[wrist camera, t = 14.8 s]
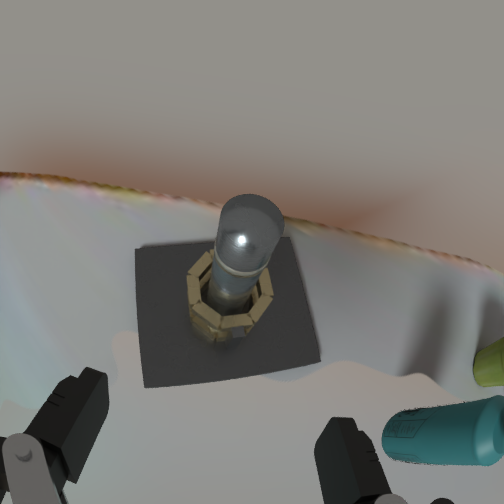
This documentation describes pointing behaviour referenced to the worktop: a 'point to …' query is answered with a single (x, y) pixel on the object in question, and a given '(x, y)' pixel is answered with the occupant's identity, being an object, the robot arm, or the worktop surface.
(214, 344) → the dark square plate
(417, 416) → the beverage bottle
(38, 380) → the worktop surface
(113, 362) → the worktop surface
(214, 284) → the glossy dome-topped cylinder
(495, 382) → the plant pot
